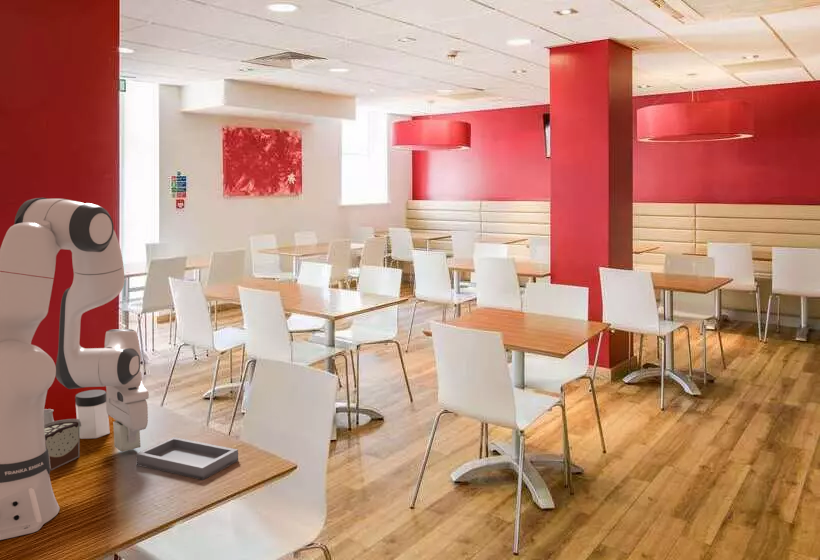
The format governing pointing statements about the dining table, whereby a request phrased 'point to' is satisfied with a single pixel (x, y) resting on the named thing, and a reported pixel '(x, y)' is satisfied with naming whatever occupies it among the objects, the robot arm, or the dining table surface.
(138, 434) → the cup
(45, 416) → the flask
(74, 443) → the food container
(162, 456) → the tray
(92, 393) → the jar
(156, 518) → the dining table surface
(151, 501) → the dining table surface
